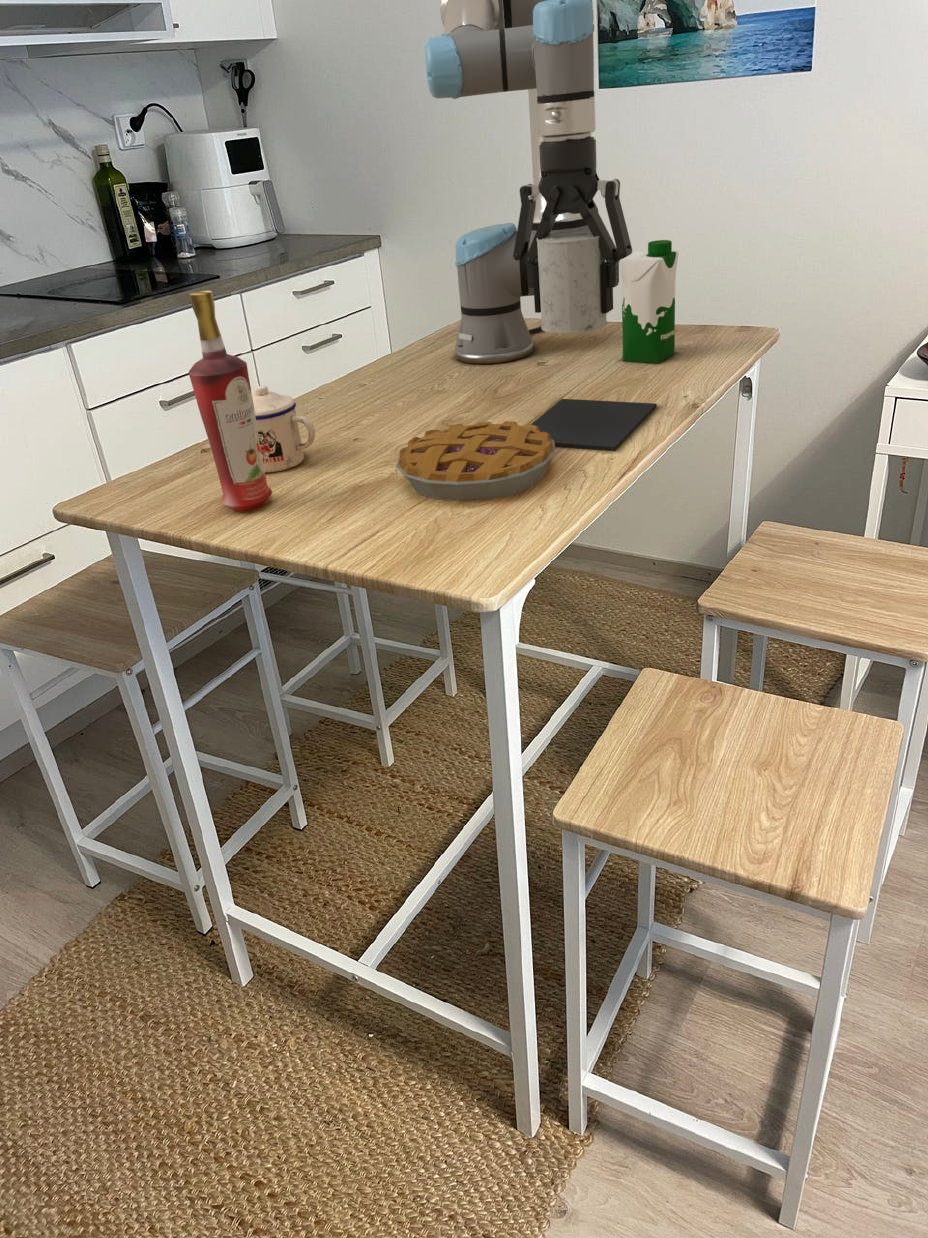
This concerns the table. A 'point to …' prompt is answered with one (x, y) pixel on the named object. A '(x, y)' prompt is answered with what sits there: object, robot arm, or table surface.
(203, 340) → the liquor
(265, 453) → the teacup with lid
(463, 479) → the pie
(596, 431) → the back mat
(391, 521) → the table surface
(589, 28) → the robot arm
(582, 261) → the tin can
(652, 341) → the milk carton
